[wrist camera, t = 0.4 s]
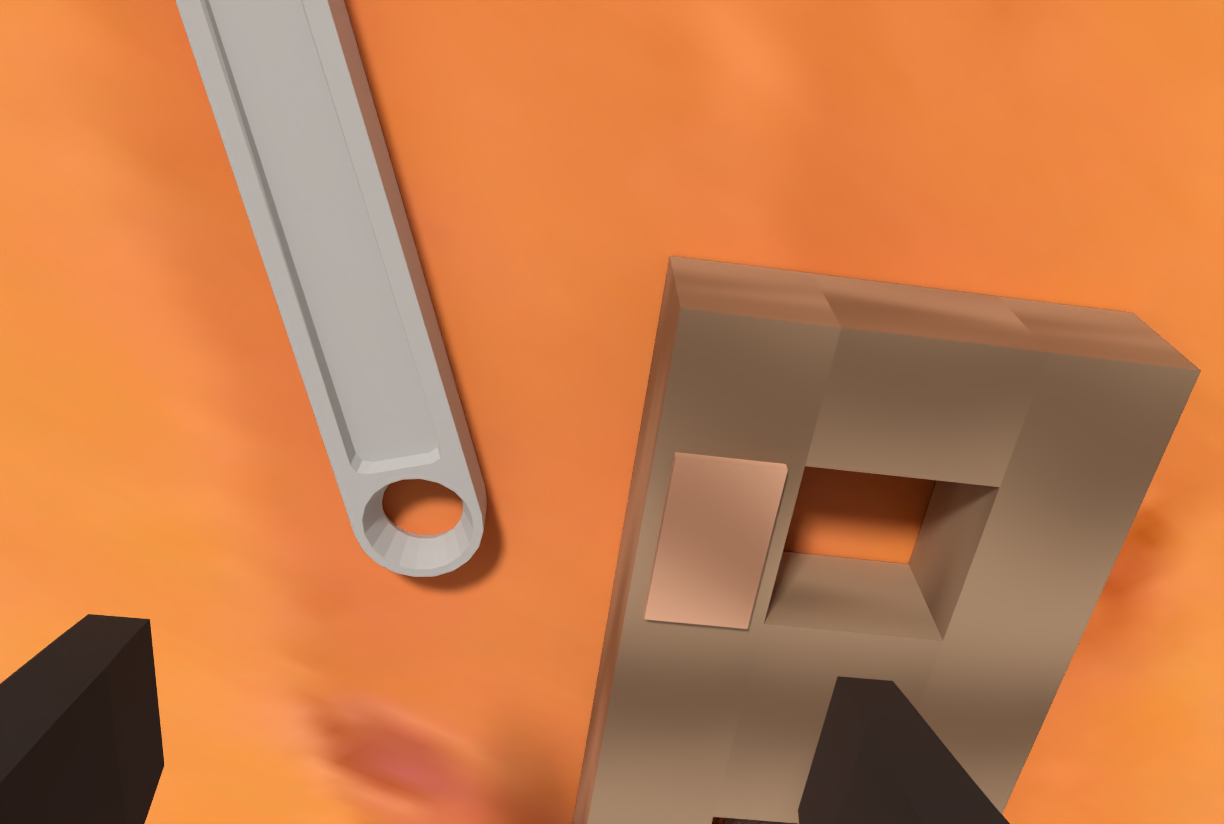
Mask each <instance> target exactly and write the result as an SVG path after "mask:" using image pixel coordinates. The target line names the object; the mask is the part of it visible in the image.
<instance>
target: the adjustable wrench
mask: <svg viewBox="0 0 1224 824" xmlns="http://www.w3.org/2000/svg"><path fill="white" fill-rule="evenodd" d="M176 3H177V6H178V9H179V12H180V15H181V18H182V21H183V24H184V27H185V30H186V33H187V36H188V39H189V42H190V45H191V48H192V51H193V54H194V57H195V60H196V63H197V66H198V69H199V72H200V75H201V78H202V81H203V84H204V87H205V90H206V93H207V96H208V99H209V102H210V105H211V108H212V111H213V114H214V116H215V119H216V122H217V125H218V128H219V131H220V134H221V137H222V140H223V143H224V146H225V149H226V152H227V155H228V158H229V161H230V164H231V167H232V170H233V173H234V176H235V179H236V182H237V185H238V188H239V191H240V194H241V197H242V200H243V203H244V206H245V209H246V212H247V215H248V218H249V221H250V224H251V227H252V230H253V233H254V236H255V239H256V242H257V245H258V248H259V251H260V254H261V257H262V260H263V263H264V266H265V269H266V272H267V275H268V278H269V281H270V284H271V287H272V290H273V293H274V296H275V299H276V302H277V305H278V308H279V310H280V313H281V316H282V319H283V322H284V325H285V328H286V331H287V334H288V337H289V340H290V343H291V346H292V349H293V352H294V355H295V358H296V361H297V364H298V367H299V370H300V373H301V376H302V379H303V382H304V385H305V388H306V391H307V394H308V397H309V400H310V403H311V406H312V409H313V412H314V415H315V418H316V421H317V424H318V427H319V430H320V433H321V436H322V439H323V442H324V445H325V448H326V451H327V454H328V457H329V460H330V463H331V466H332V469H333V472H334V475H335V478H336V481H337V484H338V487H339V490H340V493H341V496H342V499H343V501H344V504H345V507H346V510H347V513H348V516H349V519H350V522H351V525H352V528H353V531H354V534H355V537H356V538H357V540H358V542H359V544H360V545H361V547H362V549H363V551H364V552H365V553H366V554H368V555H369V556H370V557H371V558H372V559H373V560H374V561H375V562H376V563H377V564H379V565H381V566H383V567H385V568H387V569H389V570H391V571H393V572H395V573H399V574H404V575H408V576H413V577H430V576H438V575H441V574H444V573H448V572H451V571H454V570H455V569H457V568H458V567H460V566H461V565H463V564H464V563H466V562H467V561H469V559H470V558H471V557H472V555H473V554H474V553H475V552H476V550H477V549H478V548H479V545H480V541H481V538H482V535H483V531H484V523H485V516H486V509H487V497H486V487H485V484H484V480H483V477H482V474H481V470H480V467H479V463H478V460H477V456H476V453H475V449H474V446H473V443H472V439H471V436H470V432H469V429H468V425H467V422H466V418H465V415H464V412H463V408H462V405H461V401H460V398H459V394H458V391H457V387H456V384H455V381H454V377H453V374H452V370H451V367H450V363H449V360H448V356H447V353H446V350H445V346H444V343H443V339H442V336H441V332H440V329H439V325H438V322H437V319H436V315H435V312H434V308H433V305H432V301H431V298H430V294H429V291H428V288H427V284H426V281H425V277H424V274H423V270H422V267H421V263H420V260H419V257H418V253H417V250H416V246H415V243H414V239H413V236H412V232H411V229H410V226H409V222H408V219H407V215H406V212H405V208H404V205H403V201H402V198H401V195H400V191H399V188H398V184H397V181H396V177H395V174H394V170H393V167H392V164H391V160H390V157H389V153H388V150H387V146H386V143H385V139H384V136H383V133H382V129H381V126H380V122H379V119H378V115H377V112H376V108H375V105H374V102H373V98H372V95H371V91H370V88H369V84H368V81H367V77H366V74H365V71H364V67H363V64H362V60H361V57H360V53H359V50H358V46H357V43H356V40H355V36H354V33H353V29H352V26H351V22H350V19H349V15H348V12H347V9H346V5H345V2H344V0H176ZM403 479H424V480H428V481H432V482H437V483H439V484H441V485H443V486H445V487H447V488H449V489H451V490H452V491H454V492H455V493H456V494H457V495H458V496H459V497H460V498H461V499H462V504H463V512H462V516H461V519H460V521H459V522H458V524H457V525H456V526H455V527H453V528H452V529H451V530H449V531H446V532H443V533H439V534H436V535H420V534H416V533H411V532H408V531H406V530H404V529H402V528H400V527H398V526H396V525H395V524H394V523H393V522H392V521H391V520H390V519H389V518H388V517H387V516H386V515H385V513H384V511H383V506H382V499H383V495H384V491H385V490H386V488H387V487H388V486H389V484H390V483H393V482H396V481H400V480H403Z"/></svg>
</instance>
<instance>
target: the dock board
mask: <svg viewBox="0 0 1224 824" xmlns="http://www.w3.org/2000/svg"><path fill="white" fill-rule="evenodd" d="M1200 372H1201V370H1200V369H1199V368H1197V367H1196V366H1195V365H1194V364H1193V363H1192V362H1190V361H1189V360H1188V359H1187V358H1186V357H1184V356H1183V355H1182V354H1181V353H1180V352H1179V351H1177V350H1176V349H1175V348H1174V347H1173V346H1172V345H1170V344H1169V343H1168V342H1167V341H1166V340H1165V339H1163V338H1162V337H1161V336H1160V335H1159V334H1157V333H1156V332H1155V331H1154V330H1153V329H1152V328H1150V327H1149V326H1148V325H1147V324H1146V323H1145V322H1143V321H1142V320H1141V319H1140V318H1139V317H1138V316H1136V315H1135V314H1134V313H1129V312H1121V311H1113V310H1105V309H1097V308H1089V307H1081V306H1072V305H1064V304H1056V303H1048V302H1040V301H1032V300H1024V299H1016V298H1008V297H1000V296H992V295H983V294H975V293H967V292H959V291H951V290H943V289H935V288H927V287H919V286H911V285H903V284H894V283H886V282H878V281H870V280H862V279H854V278H846V277H838V276H830V275H822V274H814V273H805V272H797V271H789V270H781V269H773V268H765V267H757V266H749V265H741V264H733V263H725V262H716V261H708V260H700V259H692V258H684V257H676V256H670V258H669V264H668V270H667V276H666V281H665V287H664V293H663V299H662V305H661V311H660V316H659V322H658V328H657V334H656V340H655V346H654V351H653V357H652V363H651V369H650V375H649V381H648V386H647V392H646V398H645V404H644V410H643V416H642V421H641V427H640V433H639V439H638V445H637V451H636V456H635V462H634V468H633V474H632V480H631V486H630V492H629V497H628V503H627V509H626V515H625V521H624V527H623V532H622V538H621V544H620V550H619V556H618V562H617V567H616V573H615V579H614V585H613V591H612V597H611V602H610V608H609V614H608V620H607V626H606V632H605V637H604V643H603V649H602V655H601V661H600V667H599V672H598V678H597V684H596V690H595V696H594V702H593V708H592V713H591V719H590V725H589V731H588V737H587V743H586V748H585V754H584V760H583V766H582V772H581V778H580V783H579V789H578V795H577V801H576V807H575V813H574V818H573V824H712V820H713V817H722V818H735V819H748V820H761V821H773V822H786V823H799V817H798V808H799V805H800V801H801V798H802V794H803V791H804V788H805V784H806V781H807V778H808V774H809V771H810V768H811V764H812V761H813V757H814V754H815V751H816V747H817V744H818V741H819V737H820V734H821V730H822V727H823V724H824V720H825V717H826V714H827V710H828V707H829V704H830V700H831V697H832V693H833V690H834V687H835V683H836V680H837V677H838V676H841V677H853V678H865V679H877V680H889V681H893V682H894V683H895V684H896V685H897V686H898V688H899V689H900V690H901V691H902V692H903V694H904V695H905V696H906V697H907V699H908V700H909V701H910V702H911V704H912V705H913V706H914V707H915V709H916V710H917V711H918V712H919V714H920V715H921V716H922V717H923V719H924V720H925V721H926V722H927V724H928V725H929V726H930V727H931V729H932V730H933V731H934V732H935V734H936V735H937V736H938V737H939V739H940V740H941V741H942V742H943V744H944V745H945V746H946V747H947V749H948V750H949V751H950V752H951V753H952V755H953V756H954V757H955V758H956V760H957V761H958V762H959V763H960V765H961V766H962V767H963V768H964V769H965V771H966V772H967V773H968V774H969V776H970V777H971V778H972V779H973V781H974V782H975V783H976V784H977V785H978V787H979V788H980V789H981V790H982V791H983V793H984V794H985V795H986V796H987V797H988V799H989V800H990V801H991V802H992V803H993V805H994V806H995V807H996V808H997V809H998V811H999V812H1000V813H1001V814H1002V813H1003V811H1004V809H1005V807H1006V804H1007V802H1008V800H1009V798H1010V795H1011V793H1012V791H1013V789H1014V786H1015V784H1016V782H1017V780H1018V778H1019V775H1020V773H1021V771H1022V769H1023V766H1024V764H1025V762H1026V760H1027V757H1028V755H1029V753H1030V751H1031V749H1032V746H1033V744H1034V742H1035V740H1036V737H1037V735H1038V733H1039V731H1040V728H1041V726H1042V724H1043V722H1044V720H1045V717H1046V715H1047V713H1048V711H1049V708H1050V706H1051V704H1052V702H1053V699H1054V697H1055V695H1056V693H1057V691H1058V688H1059V686H1060V684H1061V682H1062V679H1063V677H1064V675H1065V673H1066V670H1067V668H1068V666H1069V664H1070V662H1071V659H1072V657H1073V655H1074V653H1075V650H1076V648H1077V646H1078V644H1079V641H1080V639H1081V637H1082V635H1083V633H1084V630H1085V628H1086V626H1087V624H1088V621H1089V619H1090V617H1091V615H1092V612H1093V610H1094V608H1095V606H1096V604H1097V601H1098V599H1099V597H1100V595H1101V592H1102V590H1103V588H1104V586H1105V583H1106V581H1107V579H1108V577H1109V575H1110V572H1111V570H1112V568H1113V566H1114V563H1115V561H1116V559H1117V557H1118V554H1119V552H1120V550H1121V548H1122V546H1123V543H1124V541H1125V539H1126V537H1127V534H1128V532H1129V530H1130V528H1131V525H1132V523H1133V521H1134V519H1135V517H1136V514H1137V512H1138V510H1139V508H1140V505H1141V503H1142V501H1143V499H1144V497H1145V494H1146V492H1147V490H1148V488H1149V485H1150V483H1151V481H1152V479H1153V476H1154V474H1155V472H1156V470H1157V468H1158V465H1159V463H1160V461H1161V459H1162V456H1163V454H1164V452H1165V450H1166V447H1167V445H1168V443H1169V441H1170V439H1171V436H1172V434H1173V432H1174V430H1175V427H1176V425H1177V423H1178V421H1179V418H1180V416H1181V414H1182V412H1183V410H1184V407H1185V405H1186V403H1187V401H1188V398H1189V396H1190V394H1191V392H1192V389H1193V387H1194V385H1195V383H1196V381H1197V378H1198V376H1199V374H1200ZM805 466H808V467H818V468H827V469H836V470H845V471H855V472H864V473H873V474H882V475H892V476H901V477H910V478H920V479H929V480H937V481H936V484H935V487H934V490H933V493H932V496H931V499H930V502H929V505H928V508H927V511H926V514H925V517H924V520H923V523H922V526H921V529H920V532H919V535H918V538H917V541H916V544H915V547H914V550H913V553H912V556H911V559H910V562H909V564H902V563H892V562H882V561H872V560H862V559H852V558H843V557H833V556H823V555H813V554H803V553H793V552H783V549H784V545H785V541H786V537H787V533H788V530H789V526H790V522H791V518H792V514H793V510H794V507H795V503H796V499H797V495H798V491H799V488H800V484H801V480H802V476H803V472H804V468H805Z"/></svg>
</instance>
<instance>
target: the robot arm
mask: <svg viewBox="0 0 1224 824" xmlns="http://www.w3.org/2000/svg"><path fill="white" fill-rule="evenodd" d="M163 767H164V757H163V747H162V737H161V727H160V717H159V707H158V697H157V687H156V677H155V667H154V657H153V647H152V637H151V627H150V619H140V618H128V617H116V616H104V615H92V614H88V615H87V616H86V617H84V618H83V619H82V620H80V621H79V622H78V623H77V624H75V625H74V626H73V627H71V628H70V629H69V630H67V631H66V632H65V633H63V634H62V635H61V636H60V637H58V638H57V639H56V640H54V641H53V642H52V643H51V644H49V645H48V646H47V647H46V648H44V649H43V650H42V651H41V652H39V653H38V654H37V655H36V656H34V657H33V658H32V659H31V660H29V661H28V662H27V663H26V664H24V665H23V666H22V667H21V668H19V669H18V670H17V671H16V672H14V673H13V674H12V675H11V676H9V677H8V678H7V679H6V680H4V681H3V682H2V683H1V684H0V824H144V823H145V820H146V818H147V815H148V812H149V809H150V806H151V803H152V800H153V797H154V794H155V791H156V788H157V785H158V782H159V779H160V776H161V773H162V770H163ZM798 817H799V824H1010V823H1009V822H1008V821H1007V820H1006V819H1005V818H1004V816H1003V815H1002V814H1001V813H1000V812H999V811H998V809H997V808H996V807H995V806H994V805H993V803H992V802H991V801H990V800H989V799H988V797H987V796H986V795H985V794H984V793H983V791H982V790H981V789H980V788H979V787H978V785H977V784H976V783H975V782H974V781H973V779H972V778H971V777H970V776H969V774H968V773H967V772H966V771H965V769H964V768H963V767H962V766H961V765H960V763H959V762H958V761H957V760H956V758H955V757H954V756H953V755H952V753H951V752H950V751H949V750H948V749H947V747H946V746H945V745H944V744H943V742H942V741H941V740H940V739H939V737H938V736H937V735H936V734H935V732H934V731H933V730H932V729H931V727H930V726H929V725H928V724H927V722H926V721H925V720H924V719H923V717H922V716H921V715H920V714H919V712H918V711H917V710H916V709H915V707H914V706H913V705H912V704H911V702H910V701H909V700H908V699H907V697H906V696H905V695H904V694H903V692H902V691H901V690H900V689H899V688H898V686H897V685H896V684H895V683H894V682H893V681H889V680H877V679H865V678H853V677H841V676H838V677H837V680H836V683H835V687H834V690H833V693H832V697H831V700H830V704H829V707H828V710H827V714H826V717H825V720H824V724H823V727H822V730H821V734H820V737H819V741H818V744H817V747H816V751H815V754H814V757H813V761H812V764H811V768H810V771H809V774H808V778H807V781H806V784H805V788H804V791H803V794H802V798H801V801H800V805H799V808H798Z"/></svg>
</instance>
